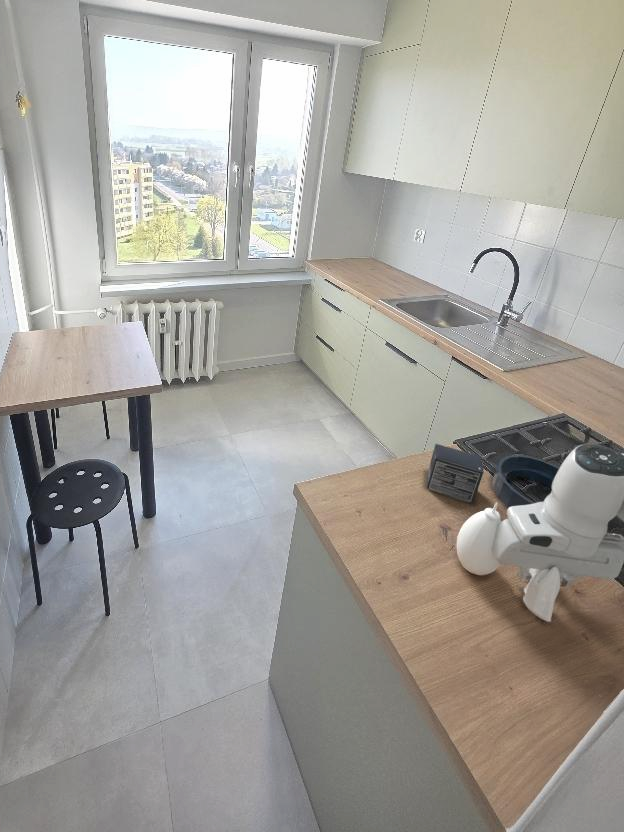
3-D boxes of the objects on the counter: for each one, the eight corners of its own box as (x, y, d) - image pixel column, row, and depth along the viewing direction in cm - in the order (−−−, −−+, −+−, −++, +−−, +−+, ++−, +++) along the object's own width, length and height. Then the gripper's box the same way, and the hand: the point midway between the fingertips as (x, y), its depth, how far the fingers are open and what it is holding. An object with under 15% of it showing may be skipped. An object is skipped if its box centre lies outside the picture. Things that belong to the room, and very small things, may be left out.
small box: (471, 487, 104) (483, 455, 100) (472, 506, 99) (485, 473, 94) (426, 473, 108) (435, 441, 104) (425, 491, 103) (435, 458, 98)
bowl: (553, 477, 109) (561, 459, 106) (599, 539, 92) (610, 519, 89) (479, 468, 111) (486, 450, 108) (511, 527, 94) (519, 508, 91)
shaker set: (547, 630, 74) (569, 589, 70) (520, 615, 76) (540, 575, 72) (546, 576, 83) (566, 538, 79) (522, 565, 85) (540, 527, 81)
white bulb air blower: (454, 579, 82) (479, 513, 75) (447, 545, 89) (469, 482, 82) (498, 591, 80) (528, 524, 73) (487, 555, 87) (513, 491, 80)
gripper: (620, 521, 74) (590, 573, 80) (499, 505, 76) (478, 556, 82) (646, 553, 68) (612, 606, 74) (514, 535, 71) (491, 588, 76)
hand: (541, 580), depth 78 cm, fingers closed on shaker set, 5 cm apart
